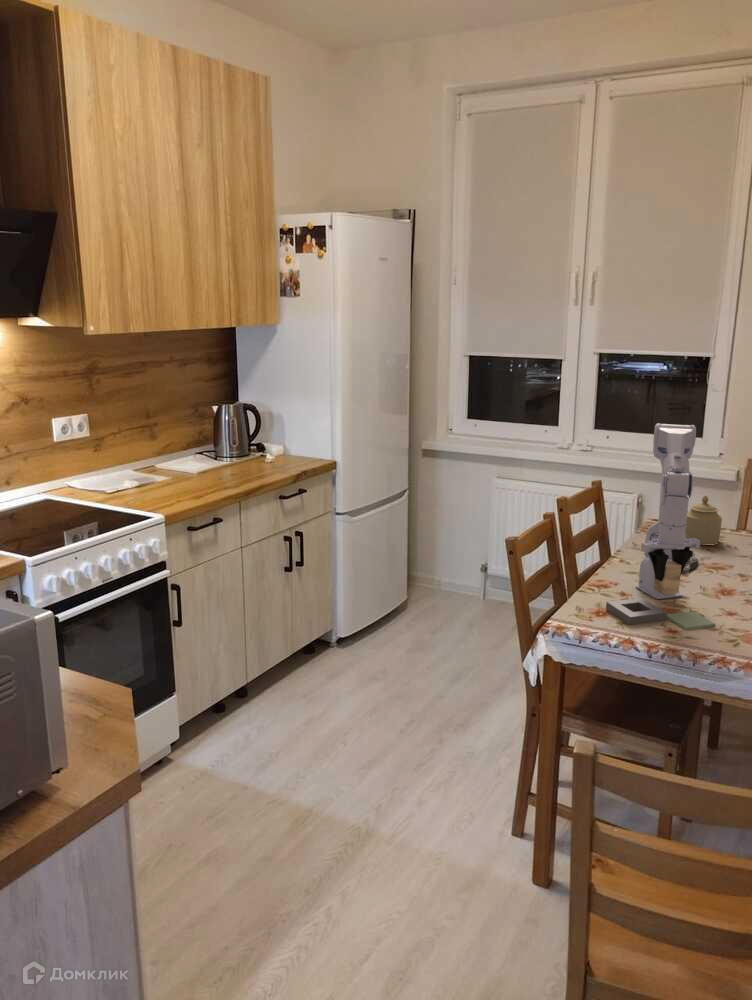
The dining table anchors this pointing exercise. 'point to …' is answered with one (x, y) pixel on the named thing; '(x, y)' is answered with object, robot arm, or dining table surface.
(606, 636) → the dining table surface
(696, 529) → the olive yellow teapot
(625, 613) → the pocket plate
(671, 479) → the robot arm
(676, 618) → the green mat
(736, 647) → the dining table surface
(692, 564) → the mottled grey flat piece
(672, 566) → the beech block
